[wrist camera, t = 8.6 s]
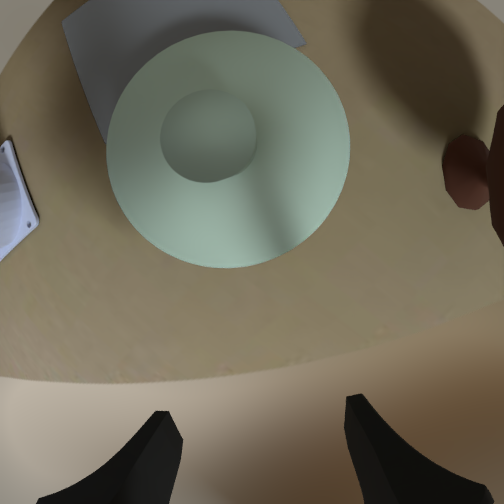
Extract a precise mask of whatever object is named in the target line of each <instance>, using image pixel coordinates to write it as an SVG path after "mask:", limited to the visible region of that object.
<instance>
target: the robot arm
mask: <svg viewBox="0 0 504 504" xmlns="http://www.w3.org/2000/svg"><path fill="white" fill-rule="evenodd" d="M4 149H5V150H4ZM30 223H31V225H30ZM38 224H39V218H38V216H37V213H36V211H35V209H34V206H33V204H32V201H31V199H30V196H29V193H28V191H27V188H26V185H25V182H24V180H23V177H22V174H21V171H20V168H19V165H18V162H17V159H16V155H15V152H14V149H13V145H12V142H11V141H10V140H6V141H5V142H4V143H3V144H2V146H1V147H0V261H1V260H2V259H3V258H4V257H5V256H6V255H7V254H8V253H9V252H10V251H11V250H12V249H13V248H14V247H15V246H16V245H17V244H18V243H19V242H21V241H22V240H23V239H24V238H25V237H26V236H27V235H28V234H29V233H30V232H31V231H32V230H34V229H35V228H36V227H37V226H38ZM344 430H345V435H346V440H347V445H348V449H349V452H350V455H351V459H352V462H353V465H354V468H355V471H356V474H357V477H358V480H359V483H360V487H361V490H362V494H363V498H364V504H493V503H494V500H493V498H492V496H491V493H490V492H489V490H488V489H487V487H486V486H485V485H483V484H479V483H476V482H473V481H471V480H468V479H466V478H463V477H461V476H459V475H456V474H454V473H452V472H450V471H448V470H447V469H445V468H442V467H441V466H439V465H437V464H436V463H434V462H432V461H431V460H429V459H428V458H426V457H425V456H423V455H422V454H421V453H419V452H418V451H417V450H415V449H414V448H413V447H412V446H410V445H409V444H408V443H407V442H406V441H405V440H404V439H402V438H401V437H400V436H399V435H398V434H397V433H396V432H395V431H394V430H393V429H392V428H391V427H390V426H389V425H388V424H387V423H386V422H385V421H384V420H383V418H382V417H381V416H380V415H379V414H378V413H377V412H376V410H375V409H374V408H373V407H372V406H371V404H370V403H369V402H368V400H367V399H366V398H365V397H364V395H363V394H356V395H352V396H347V397H346V410H345V422H344ZM182 445H183V439H182V437H181V435H180V433H179V431H178V429H177V427H176V425H175V423H174V421H173V419H172V417H171V415H170V413H169V411H155V412H154V413H153V414H152V416H151V417H150V418H149V419H148V420H147V421H146V422H145V424H144V425H143V426H142V427H141V428H140V429H139V430H138V432H137V433H136V434H135V435H134V436H133V437H132V438H131V439H130V440H129V441H128V442H127V443H126V445H125V446H124V447H123V448H122V449H121V450H120V451H119V452H117V453H116V454H115V455H114V456H113V457H112V458H111V459H110V460H109V461H108V462H106V463H105V464H104V465H103V466H101V467H100V468H99V469H98V470H96V471H95V472H93V473H92V474H91V475H89V476H87V477H86V478H84V479H82V480H81V481H79V482H77V483H76V484H74V485H72V486H70V487H68V488H66V489H63V490H61V491H59V492H56V493H53V494H51V495H48V496H45V497H42V498H39V499H38V501H37V503H36V504H169V501H170V497H171V493H172V490H173V486H174V482H175V479H176V475H177V471H178V468H179V464H180V460H181V454H182Z"/></svg>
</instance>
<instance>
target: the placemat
mask: <svg viewBox="0 0 504 504" xmlns="http://www.w3.org/2000/svg"><path fill="white" fill-rule="evenodd" d="M62 26H63V29H64V33H65V36H66V39H67V43H68V46H69V49H70V52H71V55H72V58H73V61H74V64H75V67H76V70H77V73H78V76H79V79H80V81H81V84H82V87H83V90H84V92H85V95H86V98H87V100H88V103H89V106H90V108H91V111H92V113H93V116H94V118H95V121H96V123H97V126H98V128H99V131H100V133H101V135H102V138H103V140H104V142H105V144H107V136H108V129H109V125H110V122H111V118H112V114H113V112H114V109H115V107H116V104H117V102H118V100H119V98H120V96H121V94H122V93H123V91H124V89H125V88H126V86H127V85H128V83H129V82H130V81H131V79H132V78H133V77H134V75H135V74H136V73H137V72H138V71H139V70H140V69H141V68H142V67H143V66H144V65H145V64H146V63H147V62H148V61H149V60H151V59H152V58H153V57H154V56H156V55H157V54H158V53H160V52H161V51H163V50H165V49H166V48H168V47H170V46H171V45H173V44H175V43H178V42H180V41H182V40H184V39H187V38H190V37H193V36H196V35H200V34H204V33H210V32H216V31H245V32H252V33H257V34H261V35H266V36H268V37H271V38H274V39H277V40H279V41H282V42H284V43H286V44H287V45H289V46H291V47H293V48H296V47H299V46H302V45H305V44H306V42H305V40H304V38H303V37H302V35H301V34H300V32H299V31H298V29H297V27H296V26H295V24H294V23H293V21H292V20H291V18H290V17H289V15H288V14H287V12H286V11H285V10H284V8H283V7H282V5H281V4H280V3H279V1H278V0H89V1H88V2H86V3H85V4H84V5H82V6H81V7H79V8H78V9H77V10H75V11H74V12H73V13H72V14H70V15H69V16H68V17H67V18H65V19H64V20H63V21H62Z"/></svg>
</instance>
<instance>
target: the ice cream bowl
mask: <svg viewBox="0 0 504 504" xmlns="http://www.w3.org/2000/svg"><path fill="white" fill-rule="evenodd" d="M442 167H443V173H444V179H445V186H446V191H447V192H448V193H449V195H450V196H451V197H452V199H453V200H454V201H455V203H456V204H457V206H458V207H461V208H466V209H472V210H477V209H479V208H480V207H482V206H483V205H484V204H485V203H486V202H488V201H490V212H491V220H492V226H493V228H494V229H495V231H496V233H497V235H498V237H499V238H500V240H501V242H502V244H503V246H504V105H503V106H502V107H501V108H500V110H499V111H498V112H497V118H496V123H495V128H494V133H493V138H492V143H491V147H490V151H489V150H488V148H487V147H486V145H485V144H484V142H483V141H481V140H478V139H475V138H473V137H470V136H467V135H464V134H463V135H461V136H460V137H458V138H457V139H455V140H454V141H452V142H451V143H449V145H448V148H447V152H446V155H445V158H444V161H443V165H442Z"/></svg>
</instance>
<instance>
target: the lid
mask: <svg viewBox="0 0 504 504" xmlns="http://www.w3.org/2000/svg"><path fill="white" fill-rule="evenodd" d="M106 159H107V168H108V175H109V178H110V182H111V186H112V189H113V192H114V194H115V197H116V199H117V202H118V204H119V205H120V207H121V209H122V211H123V212H124V214H125V216H126V217H127V218H128V220H129V221H130V222H131V224H132V225H133V226H134V227H135V229H136V230H137V231H138V232H139V233H140V234H141V235H142V236H143V237H144V238H146V239H147V240H148V241H149V242H151V243H152V244H153V245H154V246H156V247H157V248H159V249H160V250H162V251H164V252H165V253H167V254H169V255H171V256H173V257H176V258H178V259H180V260H182V261H185V262H189V263H192V264H196V265H200V266H206V267H213V268H236V267H246V266H250V265H255V264H259V263H263V262H265V261H268V260H271V259H273V258H276V257H278V256H280V255H282V254H284V253H286V252H288V251H290V250H291V249H293V248H294V247H296V246H297V245H299V244H300V243H301V242H303V241H304V240H305V239H306V238H308V237H309V236H310V235H311V234H312V233H313V232H314V231H315V230H316V229H317V228H318V227H319V226H320V225H321V223H322V222H323V221H324V220H325V219H326V217H327V216H328V214H329V213H330V211H331V210H332V208H333V207H334V205H335V203H336V201H337V199H338V197H339V195H340V193H341V191H342V188H343V185H344V182H345V179H346V175H347V171H348V165H349V159H350V136H349V128H348V123H347V119H346V115H345V111H344V108H343V106H342V103H341V101H340V99H339V96H338V94H337V93H336V91H335V89H334V88H333V86H332V84H331V83H330V81H329V80H328V78H327V77H326V76H325V75H324V74H323V72H322V71H321V70H320V69H319V68H318V67H317V66H316V65H315V64H314V63H313V62H312V61H311V60H310V59H309V58H308V57H306V56H305V55H303V54H302V53H301V52H299V51H298V50H296V49H295V48H293V47H291V46H289V45H287V44H286V43H284V42H282V41H279V40H277V39H274V38H271V37H268V36H266V35H261V34H257V33H252V32H245V31H216V32H210V33H204V34H200V35H196V36H193V37H190V38H187V39H184V40H182V41H180V42H178V43H175V44H173V45H171V46H170V47H168V48H166V49H165V50H163V51H161V52H160V53H158V54H157V55H156V56H154V57H153V58H152V59H151V60H149V61H148V62H147V63H146V64H145V65H144V66H143V67H142V68H141V69H140V70H139V71H138V72H137V73H136V74H135V75H134V77H133V78H132V79H131V81H130V82H129V83H128V85H127V86H126V88H125V89H124V91H123V93H122V94H121V96H120V98H119V100H118V102H117V104H116V107H115V109H114V112H113V114H112V118H111V122H110V125H109V129H108V136H107V145H106Z"/></svg>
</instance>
